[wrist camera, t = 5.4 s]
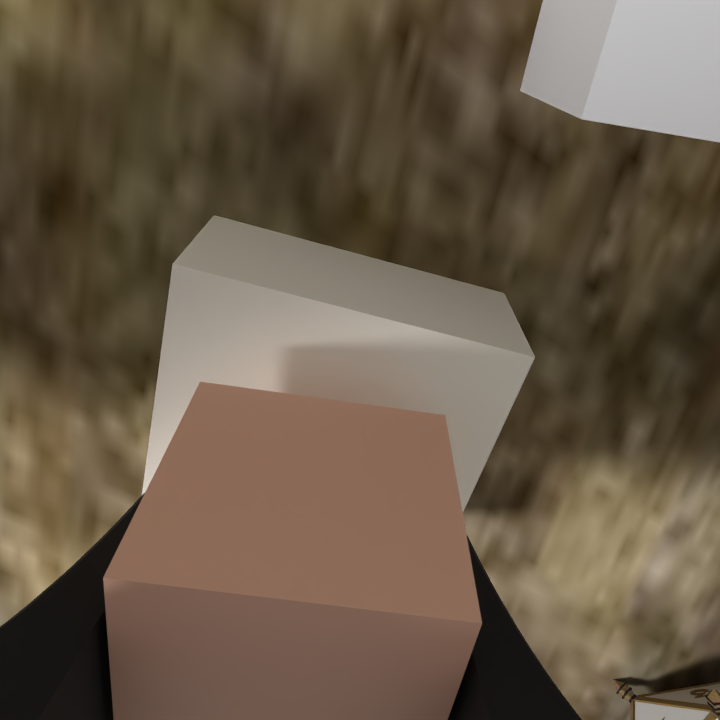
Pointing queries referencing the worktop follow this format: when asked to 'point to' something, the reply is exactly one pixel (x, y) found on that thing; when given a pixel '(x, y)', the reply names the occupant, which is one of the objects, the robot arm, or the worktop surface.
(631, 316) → the worktop surface
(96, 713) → the robot arm
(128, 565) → the terracotta cube
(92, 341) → the worktop surface
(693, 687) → the game die
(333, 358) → the cream base block
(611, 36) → the white cube
